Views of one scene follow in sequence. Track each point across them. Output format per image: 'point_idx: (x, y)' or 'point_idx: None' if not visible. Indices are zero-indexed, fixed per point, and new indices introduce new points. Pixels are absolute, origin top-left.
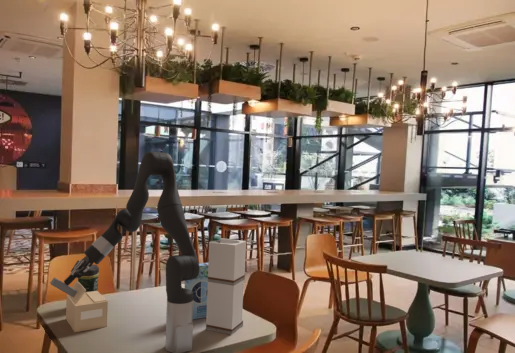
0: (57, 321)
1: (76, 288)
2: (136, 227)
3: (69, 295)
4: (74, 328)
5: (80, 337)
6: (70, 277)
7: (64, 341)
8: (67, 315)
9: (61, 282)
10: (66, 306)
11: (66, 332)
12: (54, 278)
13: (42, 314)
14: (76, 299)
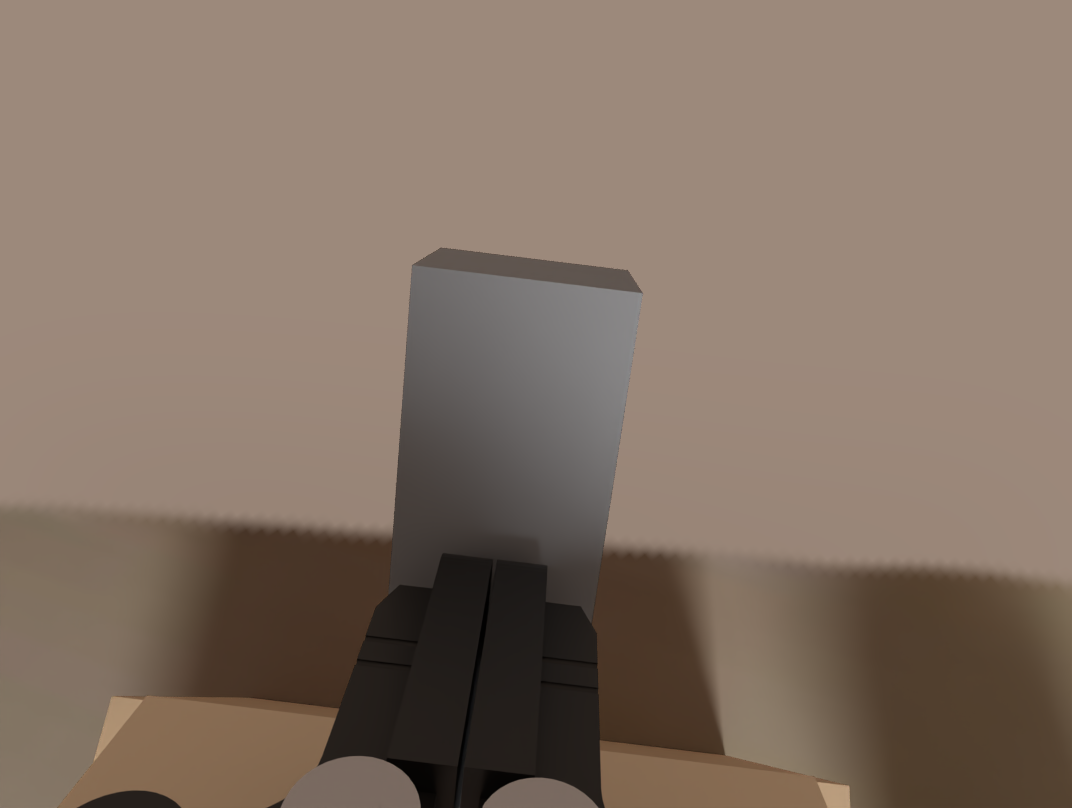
0: (696, 646)
1: None
2: None
3: (637, 769)
4: (248, 698)
5: (69, 703)
6: (379, 714)
7: (97, 532)
8: (658, 750)
9: (401, 454)
10: (763, 766)
11: (311, 624)
12: (548, 279)
13: (1006, 575)
14: (161, 752)
